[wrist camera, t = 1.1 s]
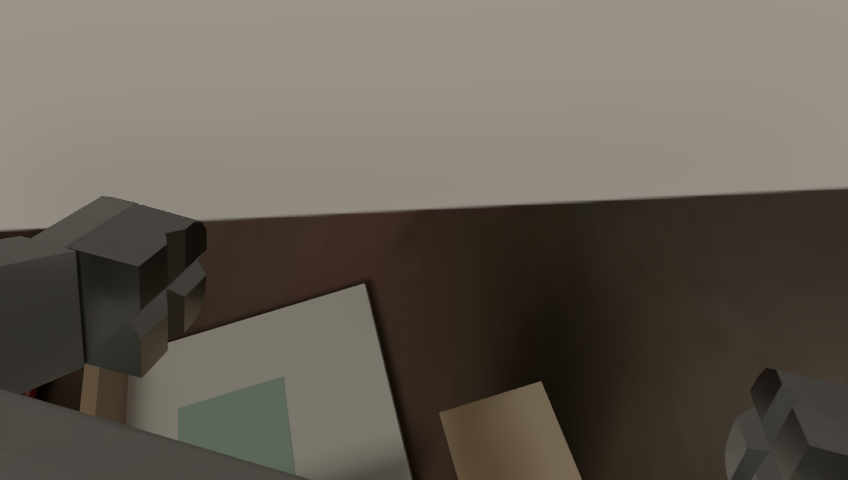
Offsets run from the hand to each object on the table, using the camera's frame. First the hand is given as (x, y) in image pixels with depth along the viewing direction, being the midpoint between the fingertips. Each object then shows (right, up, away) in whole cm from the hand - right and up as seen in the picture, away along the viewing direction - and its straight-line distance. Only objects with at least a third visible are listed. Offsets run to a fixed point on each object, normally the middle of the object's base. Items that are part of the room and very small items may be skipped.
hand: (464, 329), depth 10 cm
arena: (-11, -11, +33) cm, 36 cm away
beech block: (+5, -15, +26) cm, 30 cm away
